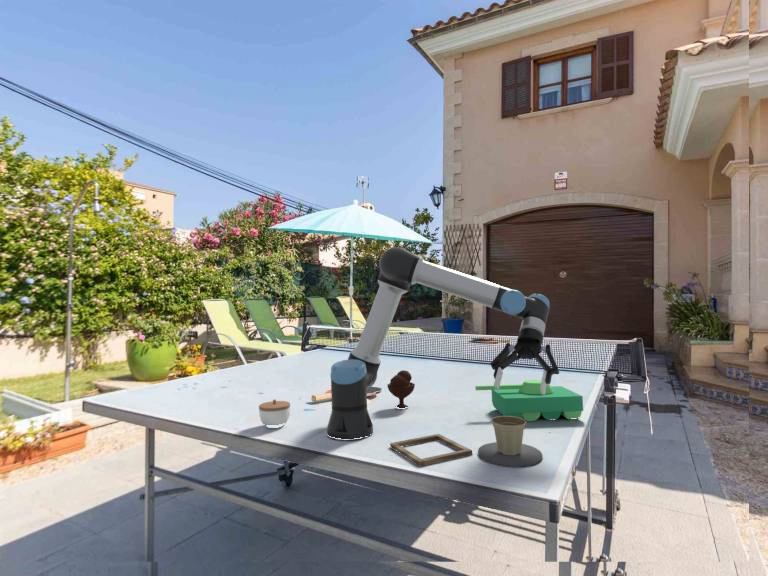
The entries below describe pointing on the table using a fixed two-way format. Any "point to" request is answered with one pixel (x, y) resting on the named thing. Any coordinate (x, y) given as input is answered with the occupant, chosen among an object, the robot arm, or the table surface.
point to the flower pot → (509, 434)
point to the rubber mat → (523, 459)
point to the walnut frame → (460, 453)
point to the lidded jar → (274, 412)
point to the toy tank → (535, 401)
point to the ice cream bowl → (401, 386)
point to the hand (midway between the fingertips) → (518, 389)
